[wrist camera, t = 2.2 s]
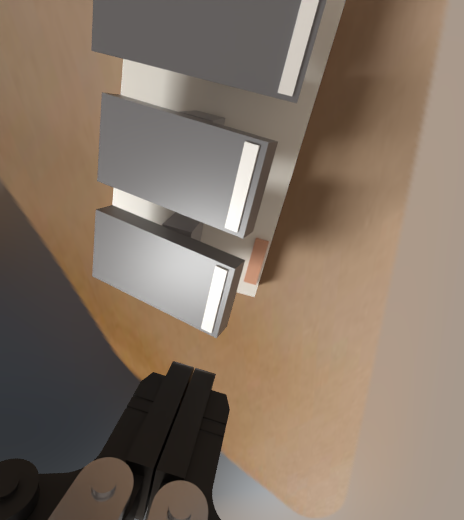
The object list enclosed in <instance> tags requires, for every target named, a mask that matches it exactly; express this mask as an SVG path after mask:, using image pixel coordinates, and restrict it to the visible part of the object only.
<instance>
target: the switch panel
mask: <svg viewBox="0 0 464 520" xmlns="http://www.w3.org/2000/svg"><path fill="white" fill-rule="evenodd" d="M345 2H346V0H327V1H326V4H325V8H324V11H323V15H322V18H321V22H320V25H319V29H318V32H317V36H316V39H315V43H314V46H313V50H312V53H311V57H310V60H309V64H308V67H307V71H306V74H305V78H304V81H303V84H302V88H301V91H300V95H299V98H298V102H297V103H293V102H289V101H285V100H281V99H278V98H274V97H270V96H266V95H262V94H258V93H254V92H250V91H247V90H243V89H239V88H235V87H231V86H227V85H223V84H219V83H215V82H212V81H208V80H204V79H200V78H196V77H192V76H188V75H184V74H181V73H177V72H173V71H169V70H165V69H161V68H157V67H153V66H150V65H146V64H142V63H138V62H134V61H130V60H126V59H123V70H122V83H121V95H123V96H126V97H130V98H133V99H136V100H140V101H143V102H147V103H150V104H153V105H157V106H160V107H163V108H167V109H170V110H174V111H177V112H180V113H184V114H187V115H190V116H194V117H197V118H201V119H204V120H207V121H211V122H214V123H217V124H221V125H224V126H228V127H231V128H234V129H238V130H241V131H244V132H248V133H251V134H255V135H258V136H261V137H265V138H268V139H271V140H275V141H278V144H277V147H276V151H275V155H274V158H273V162H272V165H271V169H270V173H269V176H268V180H267V184H266V187H265V191H264V194H263V198H262V202H261V205H260V209H259V212H258V216H257V220H256V223H255V227H254V230H253V232H252V233H250V234H249V235H248V236H246V237H245V238H240V237H238V236H235V235H232V234H230V233H227V232H225V231H222V230H220V229H217V228H215V227H212V226H210V225H207V224H205V223H202V222H200V221H197V220H195V219H192V218H190V217H187V216H184V215H182V214H179V213H177V212H174V211H172V210H169V209H167V208H164V207H162V206H159V205H157V204H154V203H152V202H149V201H147V200H144V199H142V198H139V197H137V196H134V195H131V194H129V193H126V192H124V191H121V190H119V189H116V188H114V191H113V204H112V205H113V206H116V207H118V208H121V209H123V210H126V211H128V212H130V213H133V214H135V215H138V216H140V217H142V218H145V219H147V220H150V221H152V222H154V223H157V224H159V225H162V226H164V227H166V228H169V229H171V230H174V231H176V232H179V233H181V234H183V235H186V236H188V237H191V238H193V239H195V240H198V241H200V242H203V243H205V244H207V245H210V246H212V247H215V248H217V249H220V250H222V251H224V252H227V253H229V254H232V255H234V256H236V257H239V258H241V259H244V260H245V263H244V266H243V270H242V274H241V277H240V281H239V284H238V288H237V292H238V293H242V294H245V295H248V296H252V297H255V294H256V290H257V287H258V284H259V281H260V277H261V274H262V271H263V268H264V264H265V261H266V258H267V255H268V251H269V248H270V245H271V242H272V239H273V235H274V232H275V229H276V226H277V222H278V219H279V216H280V213H281V209H282V206H283V203H284V200H285V196H286V193H287V190H288V187H289V183H290V180H291V177H292V174H293V170H294V167H295V164H296V161H297V157H298V154H299V151H300V148H301V144H302V141H303V138H304V135H305V131H306V128H307V125H308V122H309V118H310V115H311V112H312V109H313V105H314V102H315V99H316V96H317V92H318V89H319V86H320V83H321V79H322V76H323V73H324V70H325V66H326V63H327V60H328V57H329V54H330V50H331V47H332V44H333V41H334V37H335V34H336V31H337V28H338V24H339V21H340V18H341V15H342V11H343V8H344V5H345Z"/></svg>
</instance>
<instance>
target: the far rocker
mask: <svg viewBox="0 0 464 520" xmlns="http://www.w3.org/2000/svg"><path fill="white" fill-rule="evenodd" d="M244 263H245V260H244V259H241V258H239V257H236V256H234V255H232V254H229V253H227V252H224V251H222V250H220V249H217V248H215V247H212V246H210V245H207V244H205V243H203V242H200V241H198V240H195V239H193V238H191V237H188V236H186V235H183V234H181V233H179V232H176V231H174V230H171V229H169V228H166V227H164V226H162V225H159V224H157V223H154V222H152V221H150V220H147V219H145V218H142V217H140V216H138V215H135V214H133V213H130V212H128V211H126V210H123V209H121V208H118V207H116V206H113V205H111V206H107V207H104V208H100V209H96V217H95V236H94V255H93V275H92V276H93V277H95V278H97V279H99V280H101V281H103V282H105V283H107V284H109V285H111V286H113V287H115V288H117V289H119V290H121V291H123V292H125V293H127V294H129V295H131V296H133V297H135V298H137V299H139V300H141V301H143V302H145V303H147V304H149V305H151V306H153V307H155V308H157V309H159V310H161V311H163V312H165V313H167V314H169V315H171V316H173V317H175V318H177V319H179V320H181V321H183V322H185V323H187V324H189V325H191V326H193V327H195V328H197V329H199V330H201V331H203V332H205V333H207V334H209V335H211V336H213V337H215V338H217V337H218V336H219V335H220V334H221V333H222V331H223V330H224V329H225V328H226V327H227V324H228V320H229V317H230V313H231V310H232V306H233V302H234V299H235V295H236V292H237V288H238V284H239V281H240V277H241V274H242V270H243V266H244Z"/></svg>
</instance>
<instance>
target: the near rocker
mask: <svg viewBox="0 0 464 520" xmlns="http://www.w3.org/2000/svg"><path fill="white" fill-rule="evenodd" d="M326 1H327V0H93V24H92V51H95V52H99V53H103V54H107V55H111V56H115V57H118V58H122V59H126V60H130V61H134V62H138V63H142V64H146V65H150V66H153V67H157V68H161V69H165V70H169V71H173V72H177V73H181V74H184V75H188V76H192V77H196V78H200V79H204V80H208V81H212V82H215V83H219V84H223V85H227V86H231V87H235V88H239V89H243V90H247V91H250V92H254V93H258V94H262V95H266V96H270V97H274V98H278V99H281V100H285V101H289V102H293V103H297V102H298V98H299V95H300V91H301V88H302V84H303V81H304V78H305V74H306V71H307V67H308V64H309V60H310V57H311V53H312V50H313V46H314V43H315V39H316V36H317V32H318V29H319V25H320V22H321V18H322V15H323V11H324V8H325V4H326Z"/></svg>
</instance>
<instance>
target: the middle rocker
mask: <svg viewBox="0 0 464 520" xmlns="http://www.w3.org/2000/svg"><path fill="white" fill-rule="evenodd" d="M277 144H278V141H275V140H271V139H268V138H265V137H261V136H258V135H255V134H251V133H248V132H244V131H241V130H238V129H234V128H231V127H228V126H224V125H221V124H217V123H214V122H211V121H207V120H204V119H201V118H197V117H194V116H190V115H187V114H184V113H180V112H177V111H174V110H170V109H167V108H163V107H160V106H157V105H153V104H150V103H147V102H143V101H140V100H136V99H133V98H130V97H126V96H123V95H118V94H110V93H102V102H101V121H100V140H99V159H98V179H97V181H99V182H101V183H104V184H106V185H109V186H111V187H114V188H116V189H119V190H121V191H124V192H126V193H129V194H131V195H134V196H137V197H139V198H142V199H144V200H147V201H149V202H152V203H154V204H157V205H159V206H162V207H164V208H167V209H169V210H172V211H174V212H177V213H179V214H182V215H184V216H187V217H190V218H192V219H195V220H197V221H200V222H202V223H205V224H207V225H210V226H212V227H215V228H217V229H220V230H222V231H225V232H227V233H230V234H232V235H235V236H238V237H240V238H245V237H246V236H248V235H249V234H250V233H252V232H253V230H254V227H255V223H256V220H257V216H258V212H259V209H260V205H261V202H262V198H263V194H264V191H265V187H266V184H267V180H268V176H269V173H270V169H271V165H272V162H273V158H274V155H275V151H276V147H277Z"/></svg>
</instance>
